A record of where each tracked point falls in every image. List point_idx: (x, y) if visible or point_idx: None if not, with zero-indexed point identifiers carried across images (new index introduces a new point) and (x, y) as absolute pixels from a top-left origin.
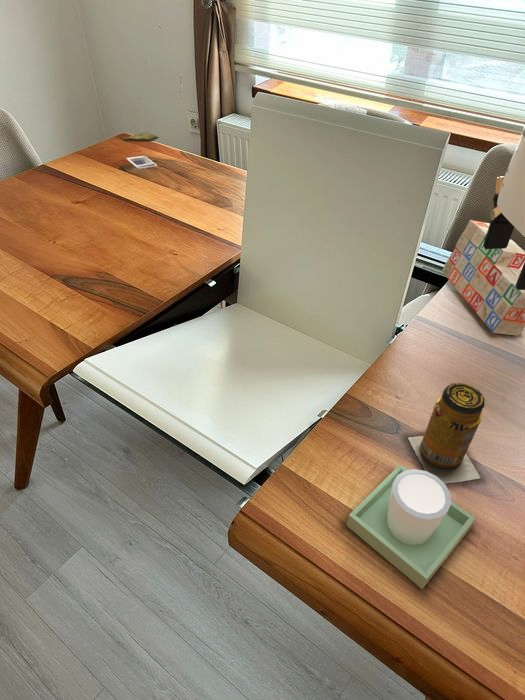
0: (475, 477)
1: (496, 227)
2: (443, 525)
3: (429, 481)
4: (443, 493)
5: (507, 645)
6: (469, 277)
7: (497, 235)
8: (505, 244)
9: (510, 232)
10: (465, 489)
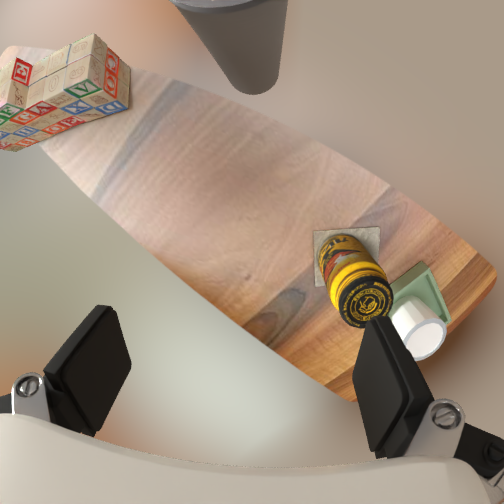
0: (377, 232)
1: (98, 413)
2: (415, 285)
3: (418, 332)
4: (431, 323)
5: (485, 268)
6: (33, 130)
7: (106, 381)
8: (110, 324)
9: (87, 354)
10: (386, 247)
